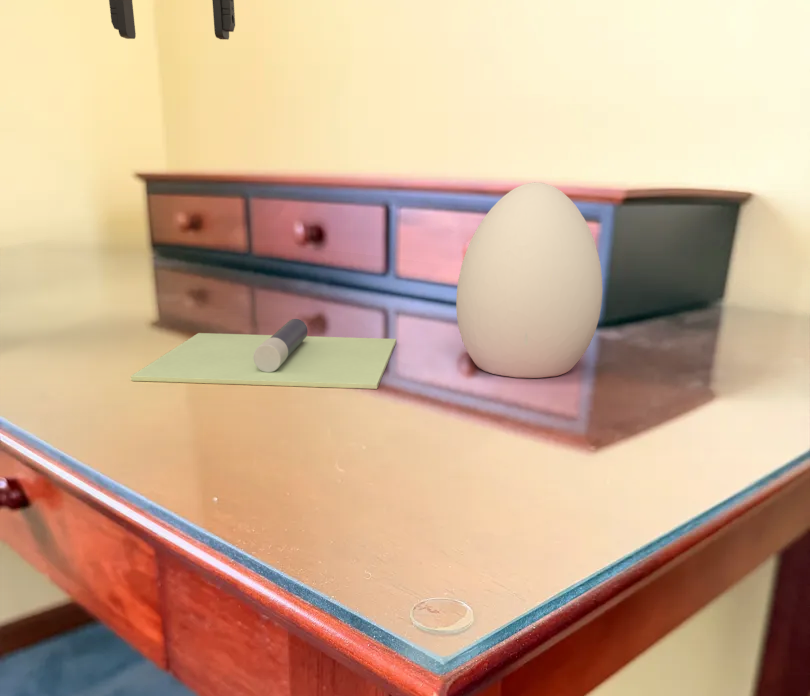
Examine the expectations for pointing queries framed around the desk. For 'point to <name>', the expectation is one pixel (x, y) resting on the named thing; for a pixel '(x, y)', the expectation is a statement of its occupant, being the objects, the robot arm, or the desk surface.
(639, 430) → the desk surface
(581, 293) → the decorative egg
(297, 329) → the marker
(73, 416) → the desk surface
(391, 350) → the desk mat
